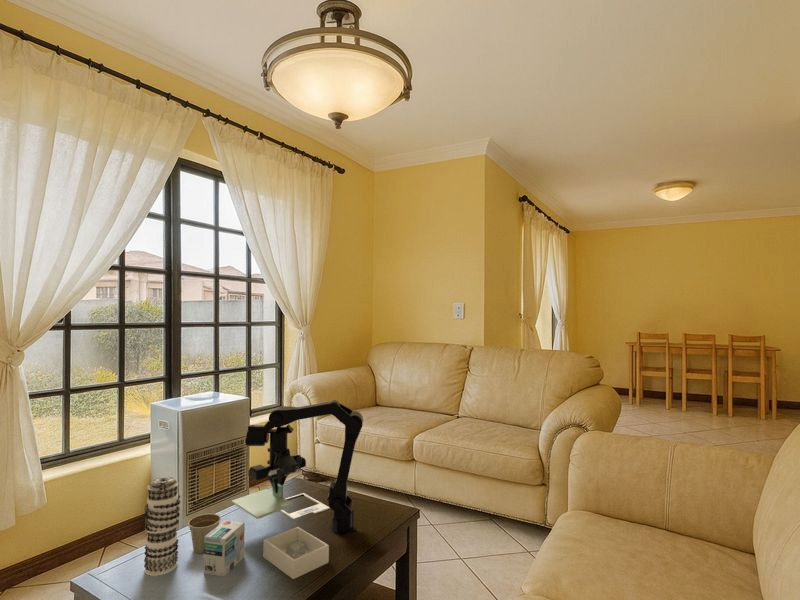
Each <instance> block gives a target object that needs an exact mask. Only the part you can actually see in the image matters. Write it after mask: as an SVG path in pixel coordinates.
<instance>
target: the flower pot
mask: <svg viewBox="0 0 800 600" xmlns="http://www.w3.org/2000/svg"><path fill="white" fill-rule="evenodd" d="M221 517H222V516H220V515H219V514H216V513H204V514H199V515H196V516H194V517H192V518H190V519H189V520H188V521H187V525H188V528H189V530H190V536H191V541H192V550H193V552H194V553H198V554H203V553H204V543H205V536H206V535H207V534H209V533H210V532H211V531H212V530H214V529H215V528H216V527H218V526H219V525H220V522H221V520H222V518H221Z"/></svg>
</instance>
